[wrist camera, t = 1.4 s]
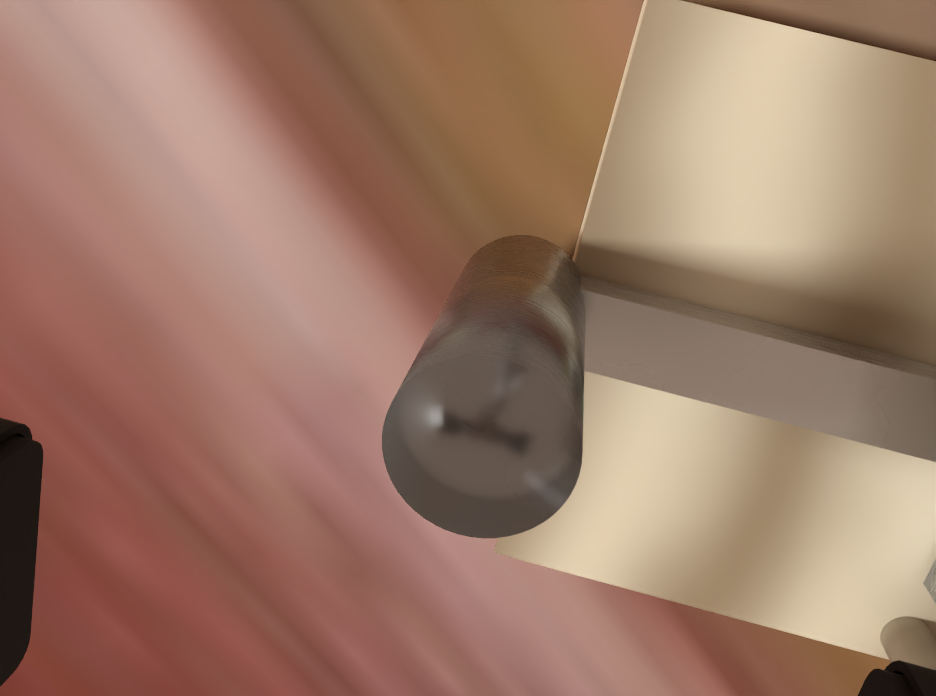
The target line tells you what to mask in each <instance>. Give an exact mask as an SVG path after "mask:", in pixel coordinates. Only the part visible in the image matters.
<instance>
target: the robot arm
mask: <svg viewBox="0 0 936 696" xmlns="http://www.w3.org/2000/svg"><path fill="white" fill-rule="evenodd" d="M42 465H43V449H42V446H41V444H40V443H39V442H37V441H34V440H32V434H31V432H30V429H29V428H28V427H27V426H26V425H25V424H21V423H17V422H14V421H10V420H6V419H2V418H0V686H1V685H2V684H3V683H4V682H5V681H6V680H7V679H8V678H9V677H10V675H11V674H12V673H13V672H14V671H15V670H16V668H17V667H18V666H19V664H20V662H21V661H22V659H23V657H24V655H25V653H26V650H27V647H28V644H29V640H30V634H31V620H32V606H33V592H34V578H35V564H36V549H37V535H38V521H39V507H40V493H41V479H42ZM858 696H936V670H934V669H930V668H926V667H922V666H919V665H915V664H911V663H908V662H904V661H900V660H898V661H893V662H892V663H891V664H889V665H888V666H887V667H886V669H885V670H881V669H874V670H873V671H871V672H870V673H869V675H868V676H867V678H866V679H865V681H864V684H863V686H862V688H861V690H860V692H859V694H858Z"/></svg>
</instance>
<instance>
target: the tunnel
mask: <svg viewBox="0 0 936 696" xmlns="http://www.w3.org/2000/svg"><path fill="white" fill-rule="evenodd" d="M572 260H573V261H574V263H575V264H576V266H577V267H578V269H579V271H580V273H581V275H583V276H587V277H591V278H595V279H599V280H603V281H607V282H611V283H614V284H618V285H622V286H626V287H630V288H634V289H638V290H642V291H646V292H650V293H654V294H658V295H662V296H666V297H669V298H673V299H677V300H681V301H685V302H689V303H693V304H697V305H701V306H705V307H709V308H713V309H717V310H720V311H724V312H728V313H732V314H736V315H740V316H744V317H748V318H752V319H756V320H760V321H764V322H768V323H771V324H775V325H779V326H783V327H787V328H791V329H795V330H799V331H803V332H807V333H811V334H815V335H819V336H823V337H826V338H830V339H834V340H838V341H842V342H846V343H850V344H854V345H858V346H862V347H866V348H870V349H874V350H877V351H881V352H885V353H889V354H893V355H897V356H901V357H905V358H909V359H913V360H917V361H921V362H925V363H928V364H932V365H936V61H932V60H928V59H924V58H919V57H915V56H911V55H907V54H903V53H898V52H894V51H890V50H886V49H882V48H878V47H873V46H869V45H865V44H861V43H857V42H852V41H848V40H844V39H840V38H836V37H832V36H827V35H823V34H819V33H815V32H811V31H806V30H802V29H798V28H794V27H790V26H785V25H781V24H777V23H773V22H769V21H765V20H760V19H756V18H752V17H748V16H744V15H739V14H735V13H731V12H727V11H723V10H719V9H714V8H710V7H706V6H702V5H698V4H693V3H689V2H685V1H681V0H644V2H643V6H642V10H641V13H640V17H639V20H638V24H637V28H636V31H635V35H634V38H633V42H632V46H631V49H630V53H629V56H628V60H627V64H626V67H625V71H624V74H623V78H622V82H621V85H620V89H619V93H618V96H617V100H616V103H615V107H614V111H613V114H612V118H611V121H610V125H609V129H608V132H607V136H606V139H605V143H604V147H603V150H602V154H601V157H600V161H599V165H598V168H597V172H596V176H595V179H594V183H593V186H592V190H591V194H590V197H589V201H588V204H587V208H586V212H585V215H584V219H583V222H582V226H581V230H580V233H579V237H578V240H577V244H576V248H575V251H574V255H573V259H572ZM494 553H497V554H500V555H504V556H508V557H511V558H515V559H519V560H522V561H526V562H530V563H534V564H537V565H541V566H545V567H548V568H552V569H556V570H559V571H563V572H567V573H570V574H574V575H578V576H582V577H585V578H589V579H593V580H596V581H600V582H604V583H607V584H611V585H615V586H618V587H622V588H626V589H630V590H633V591H637V592H641V593H644V594H648V595H652V596H655V597H659V598H663V599H666V600H670V601H674V602H678V603H681V604H685V605H689V606H692V607H696V608H700V609H703V610H707V611H711V612H715V613H718V614H722V615H726V616H729V617H733V618H737V619H740V620H744V621H748V622H751V623H755V624H759V625H763V626H766V627H770V628H774V629H777V630H781V631H785V632H788V633H792V634H796V635H799V636H803V637H807V638H811V639H814V640H818V641H822V642H825V643H829V644H833V645H836V646H840V647H844V648H847V649H851V650H855V651H859V652H862V653H866V654H870V655H873V656H877V657H881V658H884V659H888V660H890V662H891V663H892V662H893V661H898V660H900V661H904V662H908V663H911V664H915V665H919V666H922V667H926V668H930V669H934V670H936V604H935V602H934V600H933V599H932V597H931V595H930V594H929V592H928V590H927V589H926V587H925V585H924V584H923V583H924V581H925V579H926V577H927V575H928V573H929V571H930V569H931V567H932V565H933V563H934V561H935V559H936V462H933V461H929V460H925V459H922V458H918V457H914V456H910V455H906V454H902V453H899V452H895V451H891V450H887V449H883V448H879V447H875V446H872V445H868V444H864V443H860V442H856V441H852V440H848V439H845V438H841V437H837V436H833V435H829V434H825V433H822V432H818V431H814V430H810V429H806V428H802V427H798V426H795V425H791V424H787V423H783V422H779V421H775V420H772V419H768V418H764V417H760V416H756V415H752V414H748V413H745V412H741V411H737V410H733V409H729V408H725V407H721V406H718V405H714V404H710V403H706V402H702V401H698V400H695V399H691V398H687V397H683V396H679V395H675V394H671V393H668V392H664V391H660V390H656V389H652V388H648V387H645V386H641V385H637V384H633V383H629V382H625V381H621V380H618V379H614V378H610V377H606V376H602V375H598V374H594V373H591V372H587V371H584V412H583V454H582V465H581V470H580V474H579V478H578V480H577V483H576V485H575V488H574V489H573V491H572V493H571V495H570V496H569V498H568V499H567V501H566V502H565V503H564V505H563V506H562V507H561V508H560V509H559V510H558V511H557V512H556V513H555V514H554V515H553V516H552V517H550V518H549V519H547V520H546V521H545V522H543V523H542V524H540V525H538V526H536V527H534V528H533V529H530V530H528V531H525V532H523V533H520V534H516V535H512V536H507V537H500V538H497V542H496V547H495V552H494Z"/></svg>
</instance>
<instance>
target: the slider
mask: <svg viewBox="0 0 936 696" xmlns="http://www.w3.org/2000/svg"><path fill="white" fill-rule="evenodd" d="M584 371H587V372H591V373H594V374H598V375H602V376H606V377H610V378H614V379H618V380H621V381H625V382H629V383H633V384H637V385H641V386H645V387H648V388H652V389H656V390H660V391H664V392H668V393H671V394H675V395H679V396H683V397H687V398H691V399H695V400H698V401H702V402H706V403H710V404H714V405H718V406H721V407H725V408H729V409H733V410H737V411H741V412H745V413H748V414H752V415H756V416H760V417H764V418H768V419H772V420H775V421H779V422H783V423H787V424H791V425H795V426H798V427H802V428H806V429H810V430H814V431H818V432H822V433H825V434H829V435H833V436H837V437H841V438H845V439H848V440H852V441H856V442H860V443H864V444H868V445H872V446H875V447H879V448H883V449H887V450H891V451H895V452H899V453H902V454H906V455H910V456H914V457H918V458H922V459H925V460H929V461H933V462H936V365H932V364H928V363H925V362H921V361H917V360H913V359H909V358H905V357H901V356H897V355H893V354H889V353H885V352H881V351H877V350H874V349H870V348H866V347H862V346H858V345H854V344H850V343H846V342H842V341H838V340H834V339H830V338H826V337H823V336H819V335H815V334H811V333H807V332H803V331H799V330H795V329H791V328H787V327H783V326H779V325H775V324H771V323H768V322H764V321H760V320H756V319H752V318H748V317H744V316H740V315H736V314H732V313H728V312H724V311H720V310H717V309H713V308H709V307H705V306H701V305H697V304H693V303H689V302H685V301H681V300H677V299H673V298H669V297H666V296H662V295H658V294H654V293H650V292H646V291H642V290H638V289H634V288H630V287H626V286H622V285H618V284H614V283H611V282H607V281H603V280H599V279H595V278H591V277H587V276H583V275H581V273H580V271H579V269H578V267H577V266H576V264H575V263H574V261H573V260H572V259H571V258H570V257H569V256H568V254H567V253H565V252H564V251H563V250H562V249H561V248H559V247H558V246H556V245H555V244H553V243H551V242H549V241H547V240H544V239H541V238H538V237H533V236H526V235H515V236H508V237H503V238H500V239H497V240H495V241H493V242H491V243H489V244H487V245H485V246H484V247H482V248H481V249H480V250H479V251H478V252H476V253H475V254H474V255H473V257H472V258H471V259H470V260H469V261H468V263H467V265H466V266H465V268H464V270H463V272H462V273H461V275H460V277H459V279H458V281H457V283H456V284H455V286H454V288H453V290H452V292H451V294H450V296H449V297H448V299H447V301H446V303H445V305H444V307H443V309H442V310H441V312H440V314H439V316H438V318H437V320H436V322H435V323H434V325H433V327H432V329H431V331H430V333H429V335H428V336H427V338H426V340H425V342H424V344H423V346H422V347H421V349H420V351H419V353H418V355H417V357H416V359H415V360H414V362H413V364H412V366H411V368H410V370H409V372H408V373H407V375H406V377H405V379H404V381H403V383H402V385H401V386H400V388H399V390H398V392H397V394H396V396H395V397H394V399H393V401H392V403H391V405H390V408H389V410H388V412H387V415H386V418H385V422H384V426H383V433H382V450H383V457H384V462H385V465H386V469H387V472H388V474H389V476H390V478H391V481H392V483H393V484H394V486H395V488H396V489H397V491H398V493H399V494H400V495H401V496H402V498H403V499H404V500H405V501H406V503H407V504H408V505H409V506H410V507H411V508H413V509H414V510H415V511H416V512H417V513H418V514H420V515H421V516H422V517H423V518H425V519H426V520H428V521H430V522H431V523H433V524H435V525H436V526H439V527H441V528H443V529H445V530H447V531H450V532H453V533H456V534H460V535H464V536H469V537H477V538H500V537H507V536H512V535H516V534H520V533H523V532H525V531H528V530H530V529H533V528H534V527H536V526H538V525H540V524H542V523H543V522H545V521H546V520H547V519H549V518H550V517H552V516H553V515H554V514H555V513H556V512H557V511H558V510H559V509H560V508H561V507H562V506H563V505H564V503H565V502H566V501H567V499H568V498H569V496H570V495H571V493H572V491H573V489H574V488H575V485H576V483H577V480H578V478H579V474H580V470H581V465H582V454H583V412H584ZM923 584H924V585H925V587H926V589H927V590H928V592H929V594H930V595H931V597H932V599H933V600H934V602H935V604H936V559H935V561H934V563H933V565H932V567H931V569H930V571H929V573H928V575H927V577H926V579H925V581H924V583H923Z"/></svg>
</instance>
